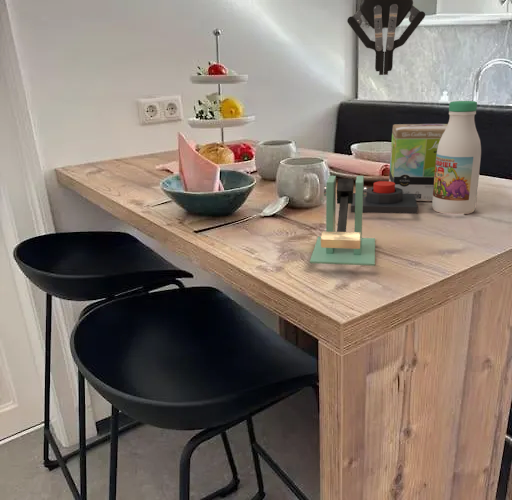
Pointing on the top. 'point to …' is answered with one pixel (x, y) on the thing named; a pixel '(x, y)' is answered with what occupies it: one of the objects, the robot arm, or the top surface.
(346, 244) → the switch lever
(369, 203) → the button box
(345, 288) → the top surface
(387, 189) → the red button
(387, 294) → the top surface
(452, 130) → the milk bottle
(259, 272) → the top surface
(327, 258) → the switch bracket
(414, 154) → the tea box
